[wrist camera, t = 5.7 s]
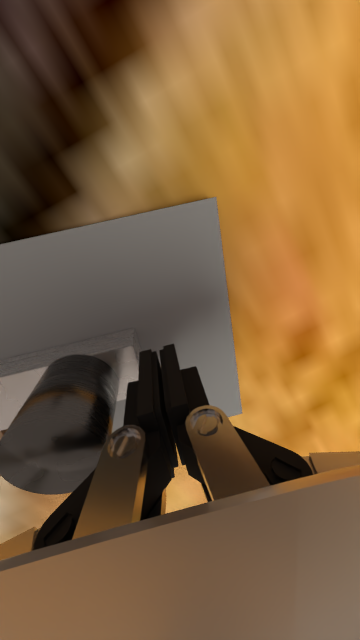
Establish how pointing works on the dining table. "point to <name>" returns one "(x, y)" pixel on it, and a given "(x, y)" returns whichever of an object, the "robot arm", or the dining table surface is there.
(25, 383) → the bolt
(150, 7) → the dining table surface
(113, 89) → the dining table surface
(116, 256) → the lock base
